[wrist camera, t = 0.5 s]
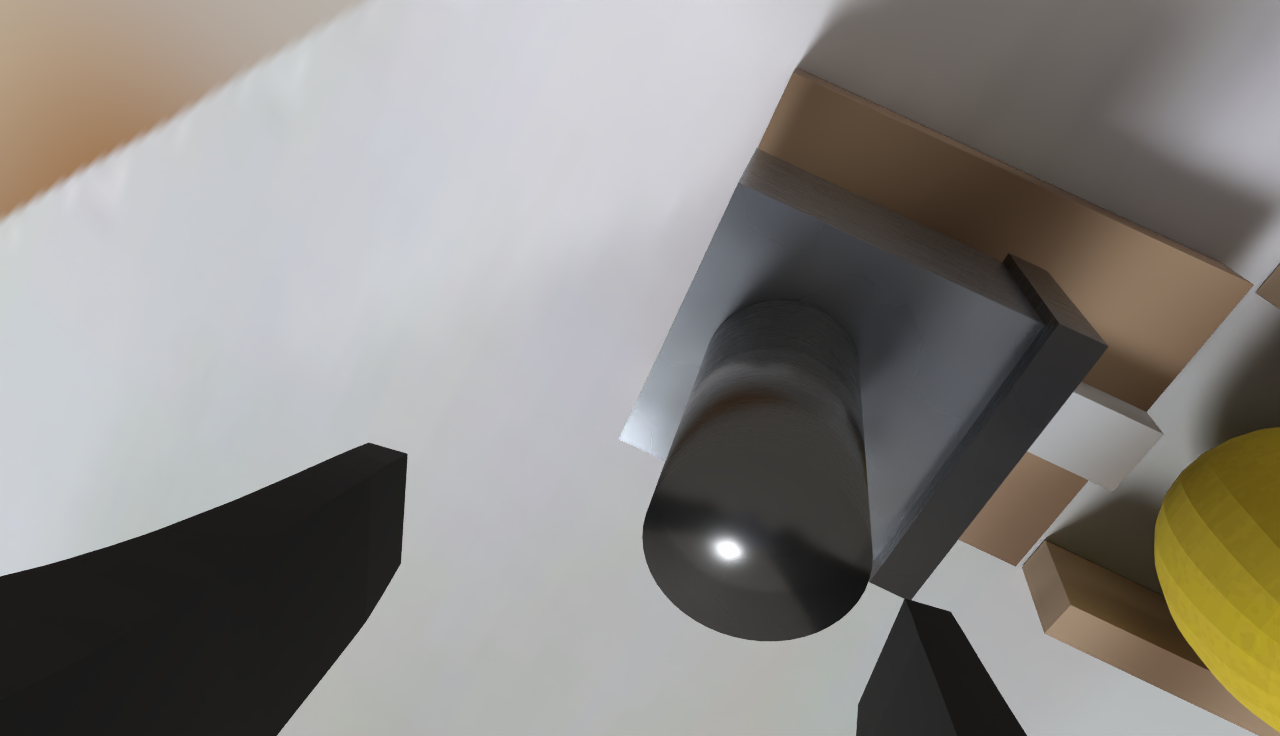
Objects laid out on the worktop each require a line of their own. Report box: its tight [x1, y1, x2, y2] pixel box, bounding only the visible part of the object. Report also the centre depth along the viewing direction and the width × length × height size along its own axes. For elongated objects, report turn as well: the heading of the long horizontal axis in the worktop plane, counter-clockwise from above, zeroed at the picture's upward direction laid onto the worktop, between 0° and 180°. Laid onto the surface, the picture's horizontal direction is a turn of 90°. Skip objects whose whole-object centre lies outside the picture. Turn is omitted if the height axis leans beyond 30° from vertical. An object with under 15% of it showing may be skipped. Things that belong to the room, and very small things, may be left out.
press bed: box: [758, 68, 1254, 566], centre depth 18 cm, size 10×8×2 cm
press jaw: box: [619, 148, 1109, 641], centre depth 13 cm, size 6×6×8 cm
